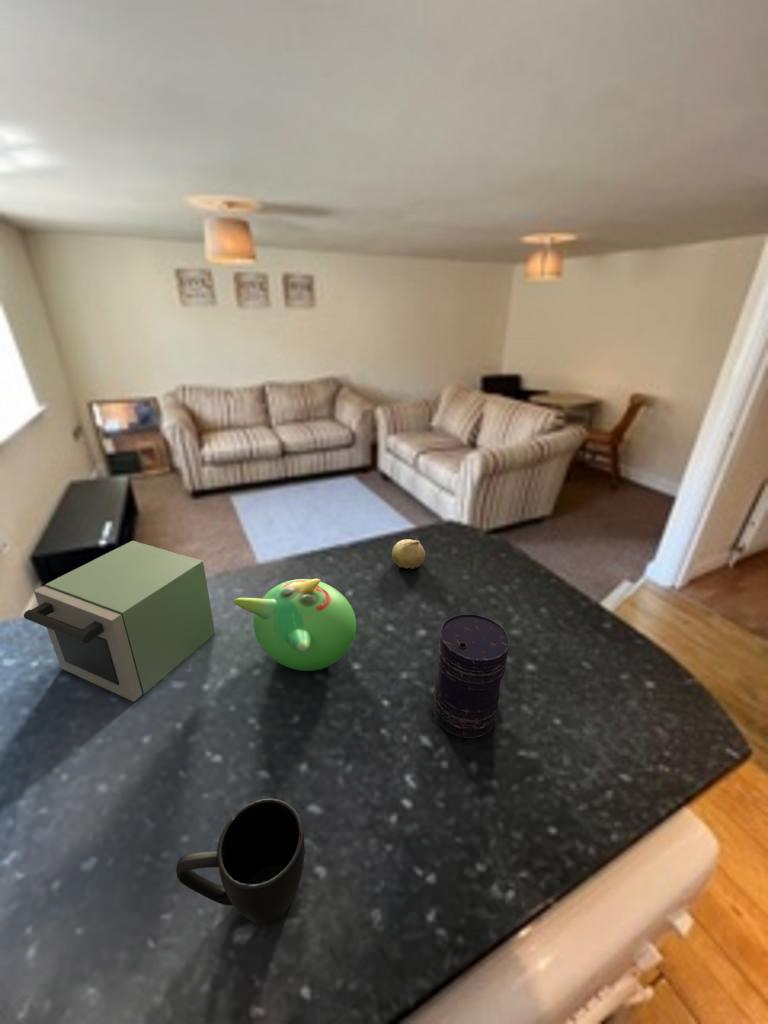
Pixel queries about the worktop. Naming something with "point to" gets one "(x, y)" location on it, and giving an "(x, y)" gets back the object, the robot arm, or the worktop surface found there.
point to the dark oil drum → (469, 674)
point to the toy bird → (302, 623)
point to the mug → (253, 862)
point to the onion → (408, 554)
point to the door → (88, 641)
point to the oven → (148, 603)
